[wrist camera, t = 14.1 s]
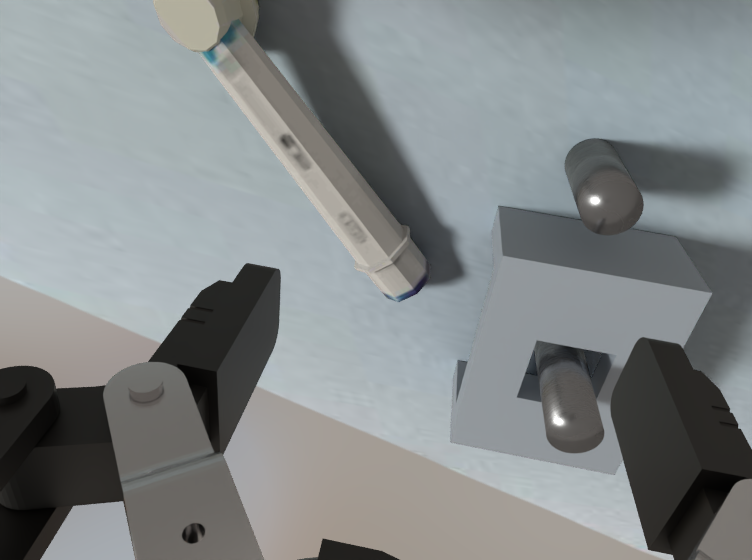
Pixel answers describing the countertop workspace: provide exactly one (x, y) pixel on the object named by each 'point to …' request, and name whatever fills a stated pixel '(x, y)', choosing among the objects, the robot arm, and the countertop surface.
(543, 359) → the tall pin
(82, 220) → the countertop surface
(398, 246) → the beige toy mallet
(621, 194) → the short pin
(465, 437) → the bridge
